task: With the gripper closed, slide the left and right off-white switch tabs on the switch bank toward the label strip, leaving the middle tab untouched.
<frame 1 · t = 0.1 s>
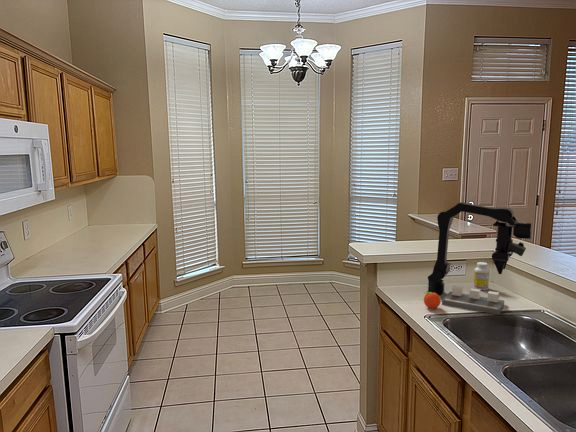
hand: (501, 271, 190), 15 cm above the table, tool pointing down, fingers open, 9 cm apart
tab right: (493, 296, 188), point 4 cm above the table, slide at 0.0 cm
tab middle: (474, 293, 193), point 4 cm above the table, slide at 0.0 cm
supplement bottle: (480, 288, 213), on the table
red tomato: (430, 308, 187), on the table
switch bank: (472, 304, 191), on the table
tab left: (457, 290, 197), point 4 cm above the table, slide at 0.0 cm
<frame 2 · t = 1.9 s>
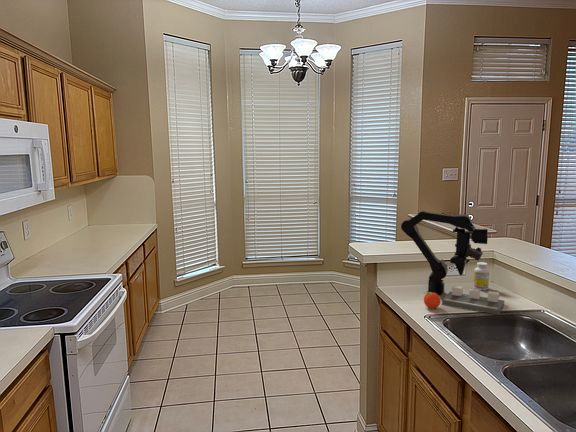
hand: (461, 274, 201), 10 cm above the table, tool pointing down, fingers closed
nothing on the table moved.
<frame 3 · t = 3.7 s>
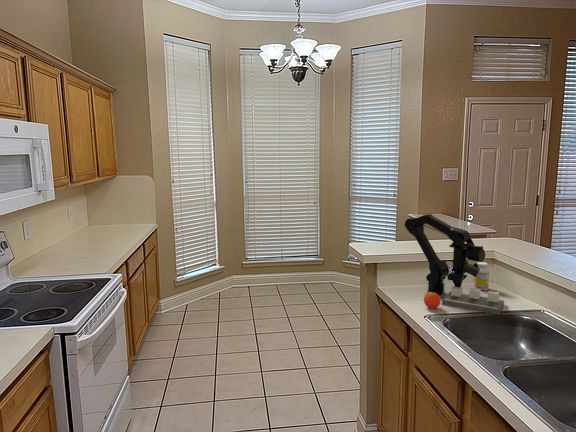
hand: (458, 291, 198), 4 cm above the table, tool pointing down, fingers closed
tab left: (456, 291, 196), point 4 cm above the table, slide at 1.1 cm, touching gripper
everything else where it was.
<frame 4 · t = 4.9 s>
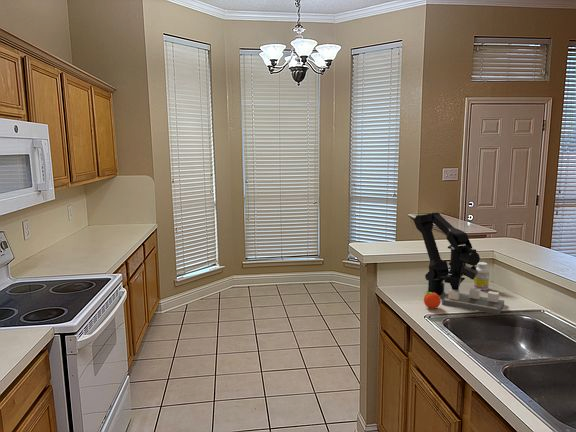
hand: (455, 293, 194), 4 cm above the table, tool pointing down, fingers closed
tab left: (454, 294, 192), point 4 cm above the table, slide at 6.0 cm, touching gripper
everything else where it was.
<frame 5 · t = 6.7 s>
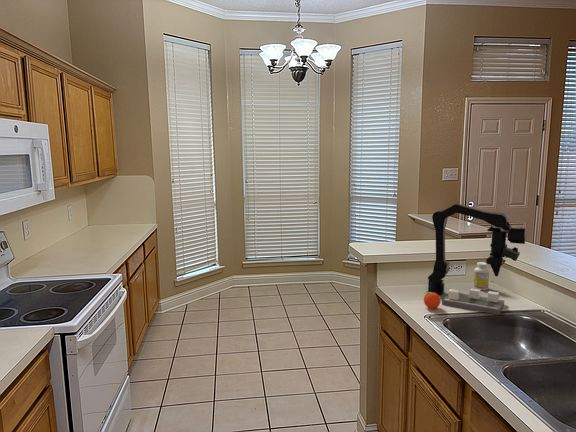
hand: (496, 276, 193), 12 cm above the table, tool pointing down, fingers closed
tab left: (454, 294, 192), point 4 cm above the table, slide at 6.0 cm
everything else where it was.
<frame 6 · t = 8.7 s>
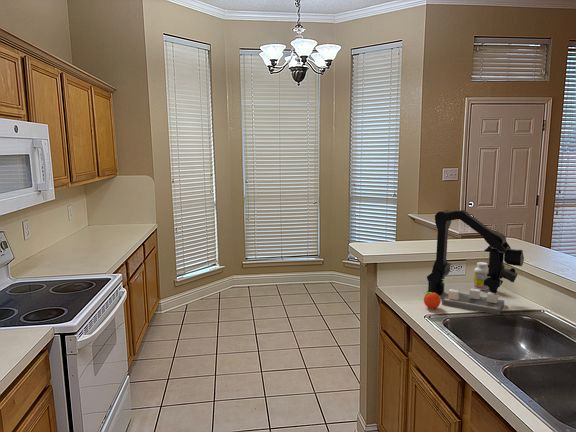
hand: (493, 296, 190), 4 cm above the table, tool pointing down, fingers closed
tab right: (492, 297, 187), point 4 cm above the table, slide at 1.2 cm, touching gripper
everything else where it was.
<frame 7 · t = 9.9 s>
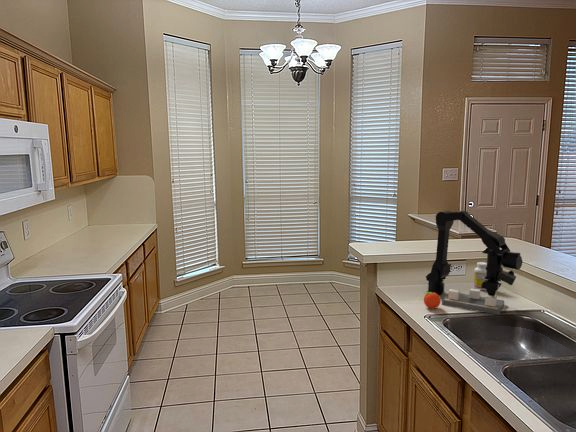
hand: (491, 300, 186), 4 cm above the table, tool pointing down, fingers closed
tab right: (490, 300, 184), point 4 cm above the table, slide at 5.9 cm, touching gripper
everything else where it was.
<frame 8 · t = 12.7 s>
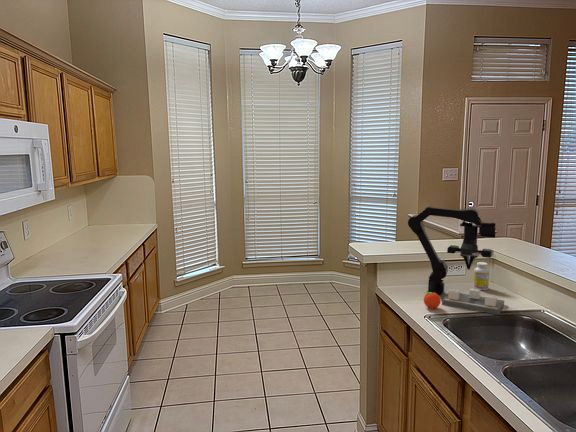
hand: (468, 269, 200), 13 cm above the table, tool pointing down, fingers closed
tab right: (490, 300, 184), point 4 cm above the table, slide at 6.0 cm
everything else where it was.
at the end: tab left slide at 6.0 cm; tab right slide at 6.0 cm; tab middle slide at 0.0 cm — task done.
